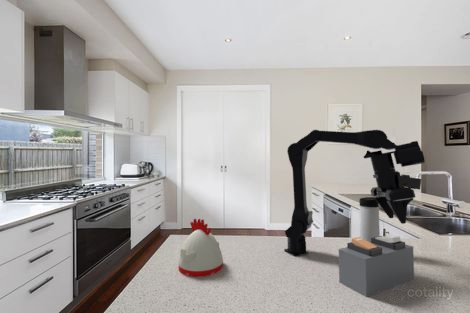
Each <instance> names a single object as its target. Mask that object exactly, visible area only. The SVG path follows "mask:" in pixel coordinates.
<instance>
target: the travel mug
mask: <svg viewBox="0 0 470 313" xmlns="http://www.w3.org/2000/svg"><path fill="white" fill-rule="evenodd" d="M374 197H375V196H369V197H368V196H367V197H360V198H359V199H358V200H359V206H358V207H359V237H361V238H363V239H365V240H366V241H368V242H371V238H373V237H378V236H381V234H380V205H379V204H378V202H377V201H376V200H375V199H374Z"/></svg>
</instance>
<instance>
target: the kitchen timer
mask: <svg viewBox="0 0 470 313" xmlns="http://www.w3.org/2000/svg"><path fill="white" fill-rule="evenodd" d="M189 224H190V226H191V229H192V233H189V235H188V237H187V238H186V239H185V241H184V243H183V244H182V247H181V249H180V251H179V252H180V253H179V257H178V271H179V272H180V273H181V274H182V275H183V276H187V277H193V278H195V277H196V278H197V277H198V278H200V277H201V278H203V277H208V276H212V275H214V274H217V273H219V272H221V270H223V266H224V260H223V254H222V251H221V250H222V249H221V248H220V242H219V241H217V238H215V236H214V235H213V234H212V233H211V230H212V227H209V228H208V223H205V219H201V218H199V219H196V218H193V221H190V223H189Z"/></svg>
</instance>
